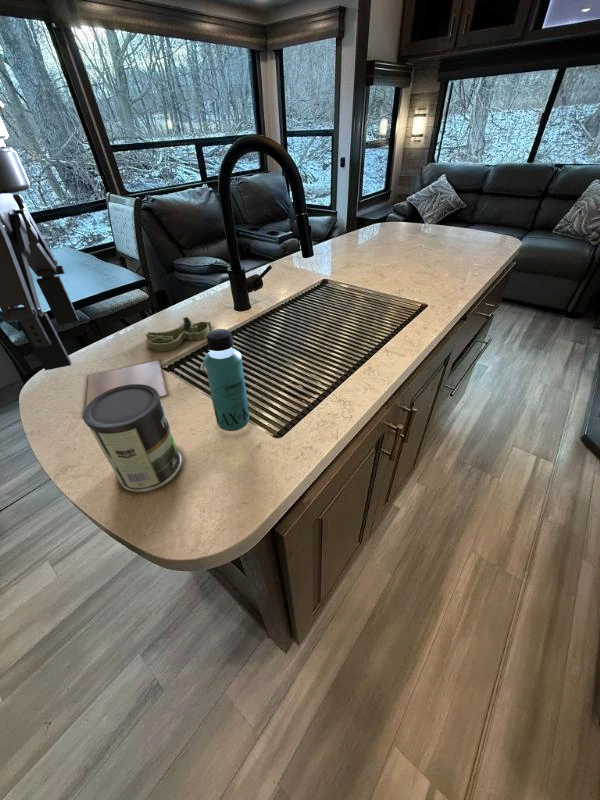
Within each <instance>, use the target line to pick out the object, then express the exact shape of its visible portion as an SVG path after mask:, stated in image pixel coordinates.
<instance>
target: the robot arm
mask: <svg viewBox="0 0 600 800" xmlns="http://www.w3.org/2000/svg"><path fill="white" fill-rule="evenodd" d="M4 110H5V107H4V104H3V103H2V101H0V113H2V112H4ZM8 137H9V133H8V131H7V129H6V127H5V124H4V122H3V120H2V117H1V116H0V311H1V317H2V319H3V320H4V322H6V323H12V322H17V324H18V326H19V328H20V329H21V331H22V333H23V334H24V337H25V338H26V340H27V342H28V343H29V345H30V346H31V348H32V350H33V352H34V353H35V355H36V357H37V359H38V361H39V363H40V364H41V366H42V367H43V369H44V371H50V370H54V369H59V368H64V367H69V366H72V360H71V358H70V356H69V355H68V353H67V350H66V349H65V346H64V345H63V343H62V341H61V339H60V337H59V334H58V333H57V331H56V329H55V326H54V325H53V322H52V321H51V319H50V317H49V315H48V313H47V312H43V310H42V307H41V304H40V300H39V297H38V293H37V291H36V287H35V283H34V280H33V276H32V273H31V270H32V271H33V273H34V274H35V275H36V276H37V277H38V278H36V280H35V281H36V283H37V285H38V287H39V289H40V292H41V293H42V295H43V297H44V299H45V301H46V303H47V305H48V307H49V309H50V311H51V313H52V316H53V317H54V319H55V321H56V323H57V325H64V324H71V323H75V322H79V321H80V319H79V316H78V313H77V312H76V309H75V307H74V305H73V303H72V301H71V298H70V296H69V294H68V292H67V290H66V287H65V285H64V283H63V281H62V278H61V276H60V275H65V269H64V268H63V265H59V264H58V260H57V259H56V258H55V255H54V253H53V252H52V250H51V249H50V247H49V245H48V244H47V242H46V240H45V238H44V236H43V235H42V233H41V231H40V229H39V228H38V226H37V224H36V222H35V220H34V218H33V217H32V215H31V213H30V212H29V209H28V207H27V205H26V202H25V200H24V198H23V197H22V195H21V194H20V193H21V192H25V191H28V190H29V189H30V187H31V183H30V181H29V178H28V177H27V174H26V171H25V169H24V167H23V165H22V162H21V160H20V157H19V156H18V154H17V153H18V152H17V151H16V150H14V149H13V147H12V146H6V144H5V142H4V140H7V139H8ZM14 193H17V194H14Z"/></svg>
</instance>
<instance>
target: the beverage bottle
mask: <svg viewBox="0 0 600 800" xmlns="http://www.w3.org/2000/svg"><path fill="white" fill-rule="evenodd" d="M209 331H210V330H209ZM234 343H235V342H234V338H233V335H232V333H231V331H230V330H228V329H227V328H226V329H225V328H217V329H213V330H211V331H210V332H209V333H208V334H207V336H206V344H207V345H206V346H207V348H208V349H209V352H207V353H206V355H205V356H204V358H203V362H204V364H205V367H206V371H207V373H206V376H207V381H208V386H209V393H210V396H211V397H210V398H211V401H212V408H213V414H214V416H215V421H216V425H217V426H218V427H219V428H220V429H221V430H223V431H226V432H235V431H240V430H242V429H243V428H245V427H246V426H247V425H248V424H249V421H250V419H251V417H250V412H251V411H250V405H249V398H248V396H247V395H248V394H247V393H248V392H247V386H246V380H245V379H246V376H245V374H244V367H243V357H242V353H241V352H240V351H239V350H237V348H236V349H235V348H234V347H233V346H234Z"/></svg>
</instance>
